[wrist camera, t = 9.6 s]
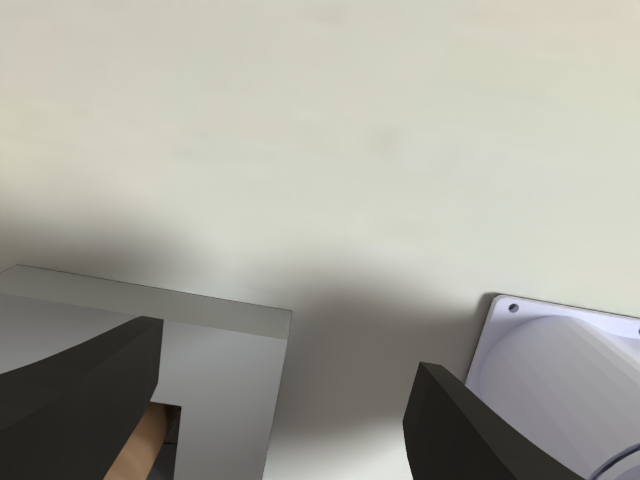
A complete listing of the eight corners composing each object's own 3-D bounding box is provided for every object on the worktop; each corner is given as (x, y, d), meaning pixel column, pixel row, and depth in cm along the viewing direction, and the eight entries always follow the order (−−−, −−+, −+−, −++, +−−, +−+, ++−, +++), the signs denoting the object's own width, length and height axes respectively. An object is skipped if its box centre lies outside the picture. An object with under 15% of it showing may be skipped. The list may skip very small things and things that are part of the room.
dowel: (184, 378, 23) (117, 508, 15) (175, 431, 24) (109, 578, 16) (118, 365, 23) (17, 491, 15) (112, 419, 24) (15, 563, 16)
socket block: (292, 311, 22) (288, 340, 19) (254, 515, 26) (245, 565, 23) (18, 264, 21) (-30, 287, 18) (21, 482, 25) (-18, 530, 22)
